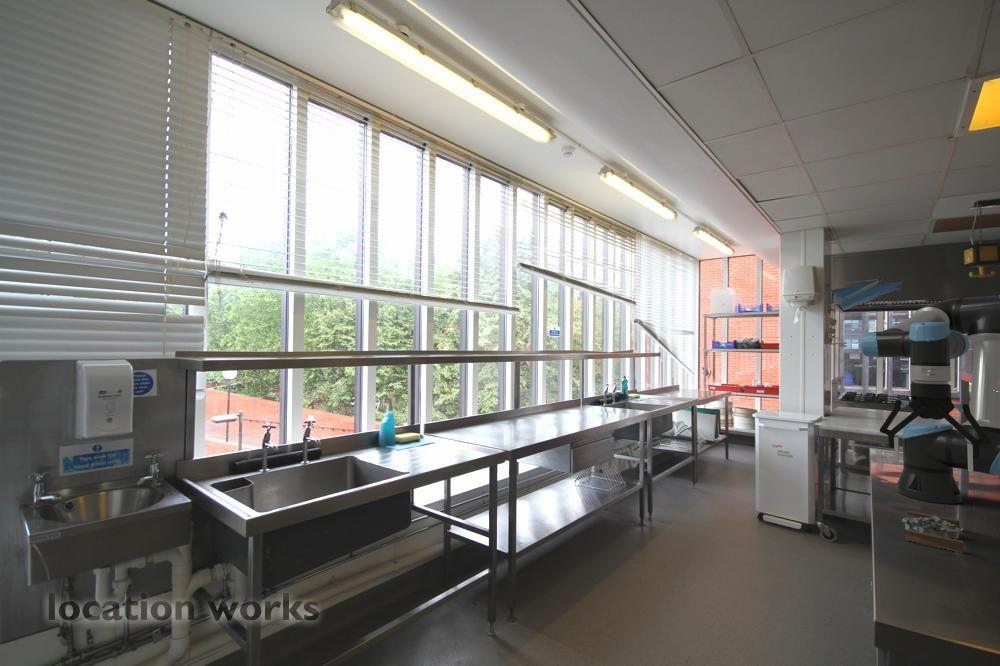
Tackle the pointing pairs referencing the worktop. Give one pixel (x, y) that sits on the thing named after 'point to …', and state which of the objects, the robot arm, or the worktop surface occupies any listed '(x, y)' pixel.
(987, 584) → the worktop surface
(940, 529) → the egg carton
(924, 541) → the parallel wooden rails
